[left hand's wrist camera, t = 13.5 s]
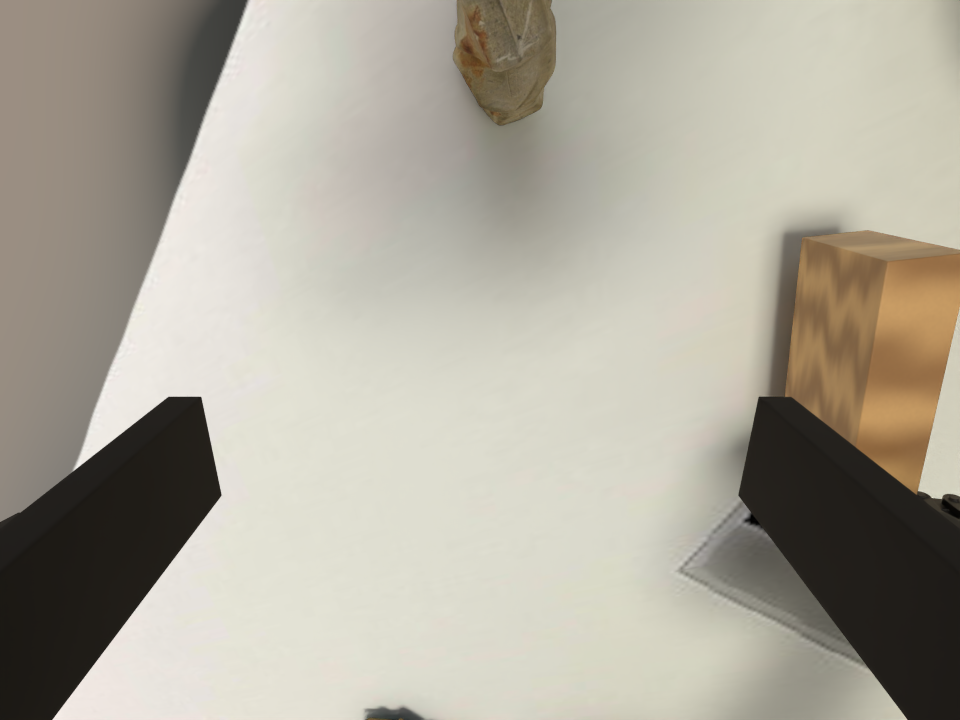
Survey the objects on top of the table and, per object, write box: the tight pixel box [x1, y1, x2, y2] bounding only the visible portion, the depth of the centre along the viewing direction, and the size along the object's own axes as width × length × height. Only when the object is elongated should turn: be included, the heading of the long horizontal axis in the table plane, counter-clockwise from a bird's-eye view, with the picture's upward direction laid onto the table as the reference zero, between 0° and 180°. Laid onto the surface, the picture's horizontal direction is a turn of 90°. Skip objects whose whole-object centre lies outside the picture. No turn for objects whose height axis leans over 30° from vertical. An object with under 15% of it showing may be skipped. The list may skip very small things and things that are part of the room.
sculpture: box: [453, 0, 556, 125], centre depth 31 cm, size 6×7×15 cm
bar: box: [785, 230, 960, 495], centre depth 39 cm, size 23×5×9 cm, turn 6°
